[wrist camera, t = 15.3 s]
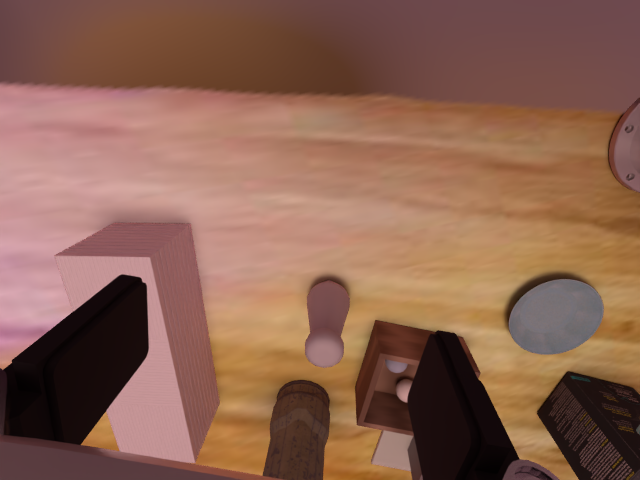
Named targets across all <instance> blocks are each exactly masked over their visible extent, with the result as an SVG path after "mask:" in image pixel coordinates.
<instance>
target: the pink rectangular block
mask: <svg viewBox="0 0 640 480" xmlns="http://www.w3.org/2000/svg"><path fill="white" fill-rule="evenodd" d="M54 256H55V259H56V262H57V265H58V268H59V271H60V274H61V277H62V280H63V283H64V286H65V289H66V292H67V295H68V298H69V301H70V304H71V307H72V310H73V311H75V310H76V309H77V308H79V307H80V306H81V305H82V304H84V303H85V302H86V301H87V300H89V299H90V298H91V297H92V296H94V295H95V294H96V293H97V292H99V291H100V290H101V289H103V288H104V287H105V286H106V285H108V284H109V283H110V282H111V281H113V280H114V279H115V278H116V277H118V276H119V275H121V274H125V275H130V276H136V277H140V278H141V279H142V282H144V283H146V285H147V303H148V335H149V351H148V354H147V357H146V359H145V360H144V362H143V363H142V364H141V365H140V367H139V368H138V369H137V371H136V372H135V373H134V375H133V376H132V377H131V379H130V380H129V381H128V383H127V384H126V385H125V387H124V388H123V389H122V391H121V392H120V393H119V395H118V396H117V397H116V399H115V400H114V401H113V402H112V404H111V405H110V406H109V408H108V409H107V410H106V412H107V415H108V417H109V420H110V423H111V426H112V429H113V432H114V435H115V438H116V441H117V444H118V447H119V450H120V452H126V453H132V454H138V455H144V456H150V457H156V458H162V459H168V460H174V461H180V462H186V463H195V462H196V460H197V455H199V452H200V449H201V448H202V445H203V444H202V443H204V440H205V437H206V435H207V431H208V430H209V428H210V425H211V423H212V421H213V418H214V415H215V413H216V410H217V408H218V406H219V403H220V400H219V394H218V388H217V382H216V376H215V370H214V364H213V358H212V351H211V345H210V339H209V333H208V327H207V321H206V315H205V309H204V303H203V296H202V290H201V284H200V278H199V272H198V266H197V260H196V254H195V248H194V241H193V235H192V229H191V224H166V223H113V224H111V225H109V226H108V227H106V228H104V229H102V230H100V231H98V232H97V233H95V234H93V235H92V236H89V237H87V238H86V239H84V240H82V241H80V242H78V243H76V244H75V245H73V246H71V247H69V249H65V250H63V251H62V252H60V253H58V254H56V255H54Z"/></svg>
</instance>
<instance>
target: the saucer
mask: <svg viewBox="0 0 640 480" xmlns="http://www.w3.org/2000/svg"><path fill="white" fill-rule="evenodd" d="M603 312H604V307H603V302H602V299H601V297H600V295H599V294H598V292H597V291H596V290H595V289H594V288H593V287H591V286H590V285H588V284H586V283H584V282H581V281H577V280H571V279H558V280H552V281H548V282H545V283H543V284H540V285H538V286H536V287H534V288H532V289H531V290H530V291H528V292H527V293H525V294H524V295H523V296H522V297H521V298H520V299H519V300H518V302H517V303H516V304H515V306H514V308H513V309H512V312H511V314H510V318H509V331H510V333H511V336H512V338H513V339H514V341H515V342H516V343H517V344H518V345H519V346H520V347H522V348H523V349H524V350H527V351H529V352H532V353H536V354H558V353H563V352H566V351H569V350H572V349H574V348H576V347H578V346H579V345H581V344H583V343H584V342H585V341H587V340H588V339H589V338H590V337H591V336H592V335H593V334H594V333H595V331H596V330H597V328H598V327H599V325H600V323H601V321H602V317H603Z"/></svg>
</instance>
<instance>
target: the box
mask: <svg viewBox="0 0 640 480" xmlns="http://www.w3.org/2000/svg"><path fill="white" fill-rule="evenodd" d="M430 334H435V332H432V331H427V330H422V329H417V328H412V327H407V326H402V325H397V324H392V323H387V322H382V321H377V320H376V321H375V324H374V327H373V330H372V334H371V337H370V340H369V343H368V347H367V350H366V353H365V356H364V360H363V363H362V366H361V370H360V373H359V376H358V379H357V383H356V386H355V393H356V418H357V425H359V426H364V427H369V428H374V429H379V430H385V431H390V432H395V433H400V434H405V435H410V436H414V434H413V430H412V425H411V420H410V415H409V410H408V405H407V402H403V401H402V400H400V399H399V397H398V396H397V393H396V386H397V384H398V383H399V382H400V381H401V380H403V379H408V380H411V381H413V379H414V376H415V374H416V371H417V368H418V365H419V362H420V360H421V357H422V354H423V351H424V348H425V346H426V343H427V340H428V337H429V335H430ZM458 338H459V340H460V342H461V344H462V347H463V349H464V351H465V353H466V355H467V357H468V359H469V361H470V363H471V365H472V367H473V369H474V371H475V374H476V376H477V378H478V377H479V375H480V371H479V369H478V367H477V365H476V363H475V361H474V359H473V357H472V355H471V353H470V351H469V349H468V347H467V345H466V343H465V341H464V339H463V338H462V337H458ZM385 359H386V360H391V361H396V362H401V363H406V364H408V365H407V368H406V369H405V370H404V371H403V372H401V373H394V372H392V371H390V370H389V369H388V368H387V366H386V363H385Z"/></svg>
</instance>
